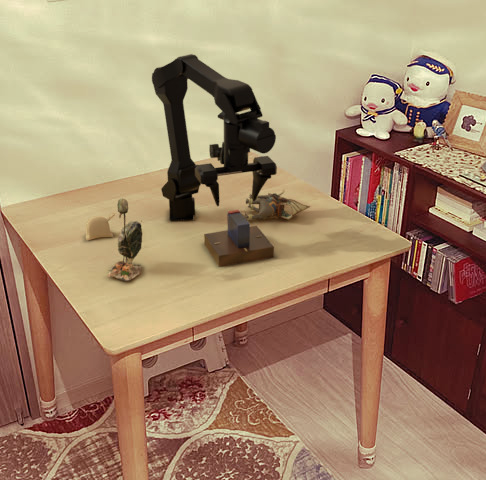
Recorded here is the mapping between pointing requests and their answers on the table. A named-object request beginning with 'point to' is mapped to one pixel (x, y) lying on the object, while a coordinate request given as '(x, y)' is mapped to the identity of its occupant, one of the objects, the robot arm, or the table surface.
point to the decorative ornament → (98, 227)
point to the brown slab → (231, 254)
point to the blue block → (238, 229)
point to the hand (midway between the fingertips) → (235, 203)
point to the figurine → (273, 206)
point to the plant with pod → (127, 246)
